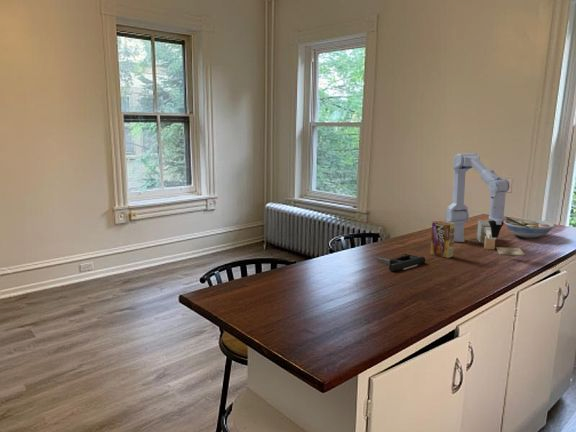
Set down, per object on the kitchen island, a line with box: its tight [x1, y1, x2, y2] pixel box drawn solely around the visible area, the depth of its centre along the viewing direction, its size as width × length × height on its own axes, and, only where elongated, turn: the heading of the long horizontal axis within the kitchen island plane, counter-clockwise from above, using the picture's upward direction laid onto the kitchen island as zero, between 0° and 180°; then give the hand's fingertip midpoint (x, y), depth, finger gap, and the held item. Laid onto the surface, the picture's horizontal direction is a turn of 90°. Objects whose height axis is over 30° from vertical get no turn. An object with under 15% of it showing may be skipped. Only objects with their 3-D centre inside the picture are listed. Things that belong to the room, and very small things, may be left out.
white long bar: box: [483, 226, 497, 240], centre depth 204 cm, size 3×18×2 cm, turn 163°
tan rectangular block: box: [483, 236, 496, 250], centre depth 203 cm, size 4×4×6 cm
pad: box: [495, 246, 526, 256], centre depth 197 cm, size 10×10×1 cm
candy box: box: [430, 219, 455, 259], centre depth 192 cm, size 9×4×15 cm, turn 39°
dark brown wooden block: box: [476, 219, 492, 244], centre depth 217 cm, size 6×12×9 cm, turn 163°
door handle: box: [376, 253, 426, 272], centre depth 182 cm, size 3×20×16 cm
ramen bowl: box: [503, 216, 555, 239], centre depth 223 cm, size 25×23×8 cm
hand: (494, 237), depth 191 cm, fingers closed
